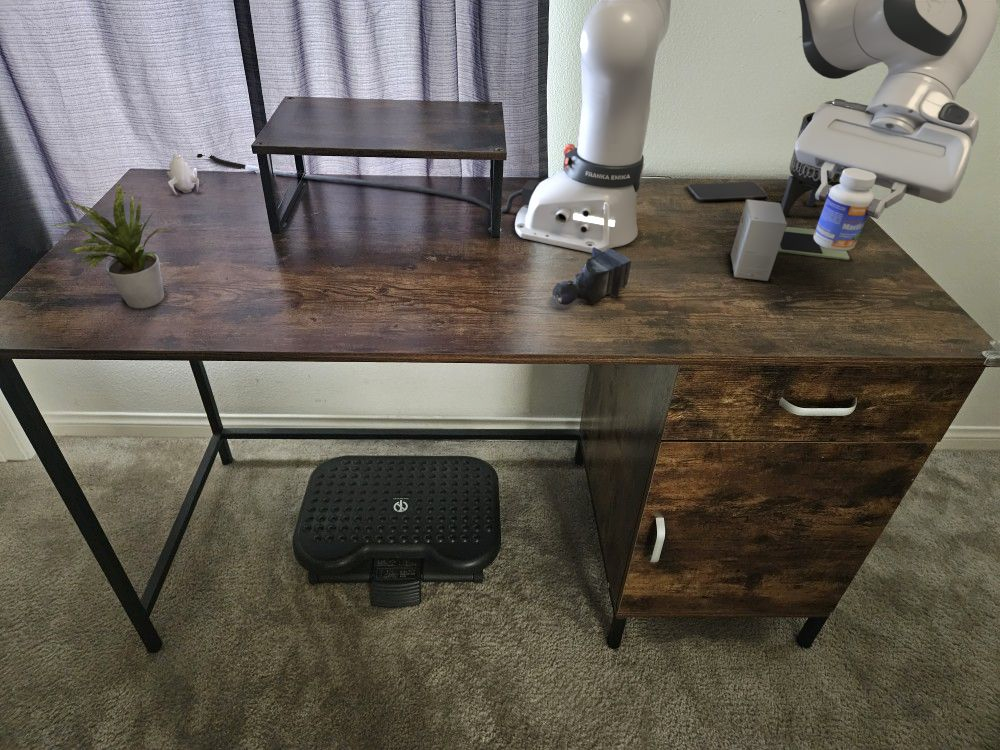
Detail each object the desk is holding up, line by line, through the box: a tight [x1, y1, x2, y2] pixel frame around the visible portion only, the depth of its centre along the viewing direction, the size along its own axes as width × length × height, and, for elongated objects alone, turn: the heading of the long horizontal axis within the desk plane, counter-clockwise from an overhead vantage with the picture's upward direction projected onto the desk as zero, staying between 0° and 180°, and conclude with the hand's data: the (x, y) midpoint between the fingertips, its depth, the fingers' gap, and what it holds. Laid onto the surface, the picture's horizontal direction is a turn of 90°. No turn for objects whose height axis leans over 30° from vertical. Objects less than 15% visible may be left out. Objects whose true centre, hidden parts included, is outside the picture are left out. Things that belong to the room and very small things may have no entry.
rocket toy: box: [166, 150, 200, 196], centre depth 124 cm, size 5×5×8 cm
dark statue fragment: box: [552, 247, 632, 306], centre depth 99 cm, size 6×13×6 cm, turn 130°
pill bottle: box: [814, 168, 876, 252], centre depth 85 cm, size 5×5×10 cm
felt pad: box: [777, 226, 851, 261], centre depth 118 cm, size 14×10×1 cm
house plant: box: [51, 183, 170, 309], centre depth 93 cm, size 14×14×16 cm
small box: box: [730, 199, 788, 282], centre depth 107 cm, size 8×6×10 cm
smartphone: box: [687, 180, 769, 203], centre depth 133 cm, size 7×1×15 cm
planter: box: [780, 111, 841, 218], centre depth 121 cm, size 13×13×18 cm
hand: (846, 207), depth 85 cm, fingers closed on pill bottle, 5 cm apart
